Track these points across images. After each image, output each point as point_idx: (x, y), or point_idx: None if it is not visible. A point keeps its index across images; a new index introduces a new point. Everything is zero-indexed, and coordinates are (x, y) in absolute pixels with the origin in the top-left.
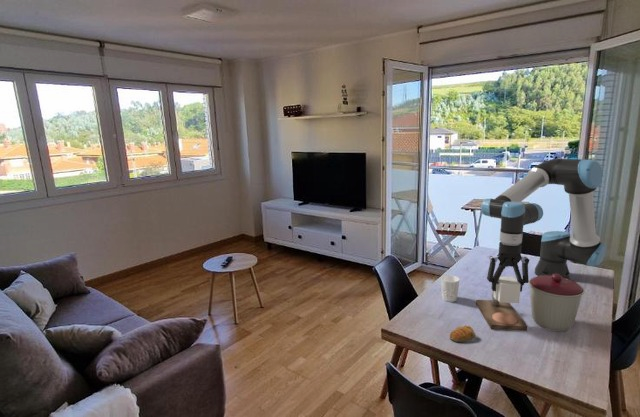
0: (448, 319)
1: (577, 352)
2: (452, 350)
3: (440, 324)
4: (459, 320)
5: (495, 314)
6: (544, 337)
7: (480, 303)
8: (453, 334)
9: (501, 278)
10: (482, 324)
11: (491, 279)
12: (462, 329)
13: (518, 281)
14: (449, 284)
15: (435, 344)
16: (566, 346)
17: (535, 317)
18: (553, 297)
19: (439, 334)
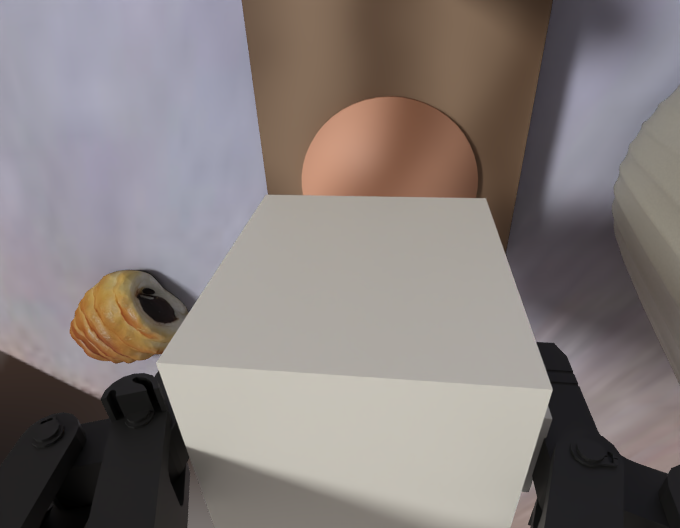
0: (37, 142)
1: (633, 408)
2: (107, 387)
3: (9, 204)
4: (104, 150)
5: (334, 136)
6: (560, 309)
7: None
8: (82, 346)
9: (266, 437)
10: (244, 192)
11: (84, 520)
12: (110, 343)
13: (547, 478)
14: None
15: (37, 356)
16: (619, 373)
17: (618, 220)
18: None
19: (32, 293)
